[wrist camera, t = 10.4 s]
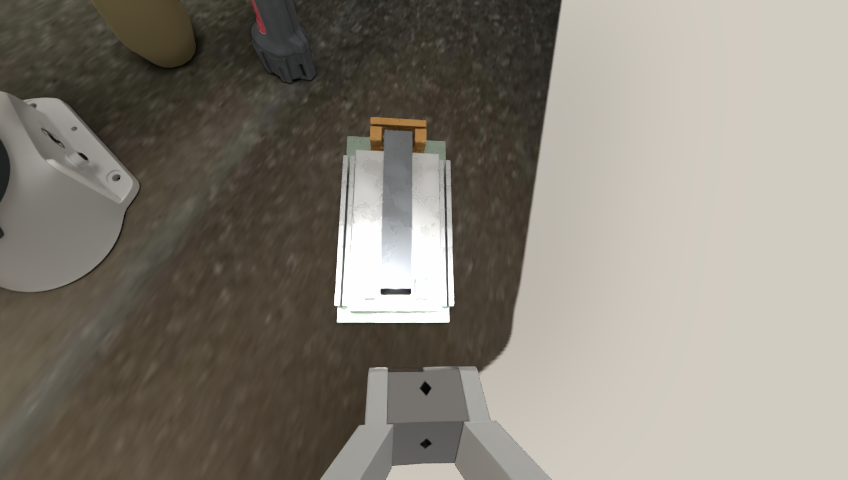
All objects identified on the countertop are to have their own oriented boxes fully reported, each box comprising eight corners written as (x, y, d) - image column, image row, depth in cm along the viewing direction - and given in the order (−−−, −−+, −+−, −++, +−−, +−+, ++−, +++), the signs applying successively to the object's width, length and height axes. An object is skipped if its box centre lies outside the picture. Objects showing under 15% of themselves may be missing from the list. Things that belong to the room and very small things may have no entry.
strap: (411, 294, 34) (411, 293, 33) (380, 294, 34) (379, 293, 33) (411, 136, 39) (412, 131, 38) (384, 135, 38) (384, 129, 37)
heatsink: (447, 322, 39) (461, 320, 32) (338, 322, 38) (327, 320, 31) (443, 147, 45) (454, 112, 38) (348, 142, 44) (341, 105, 36)
